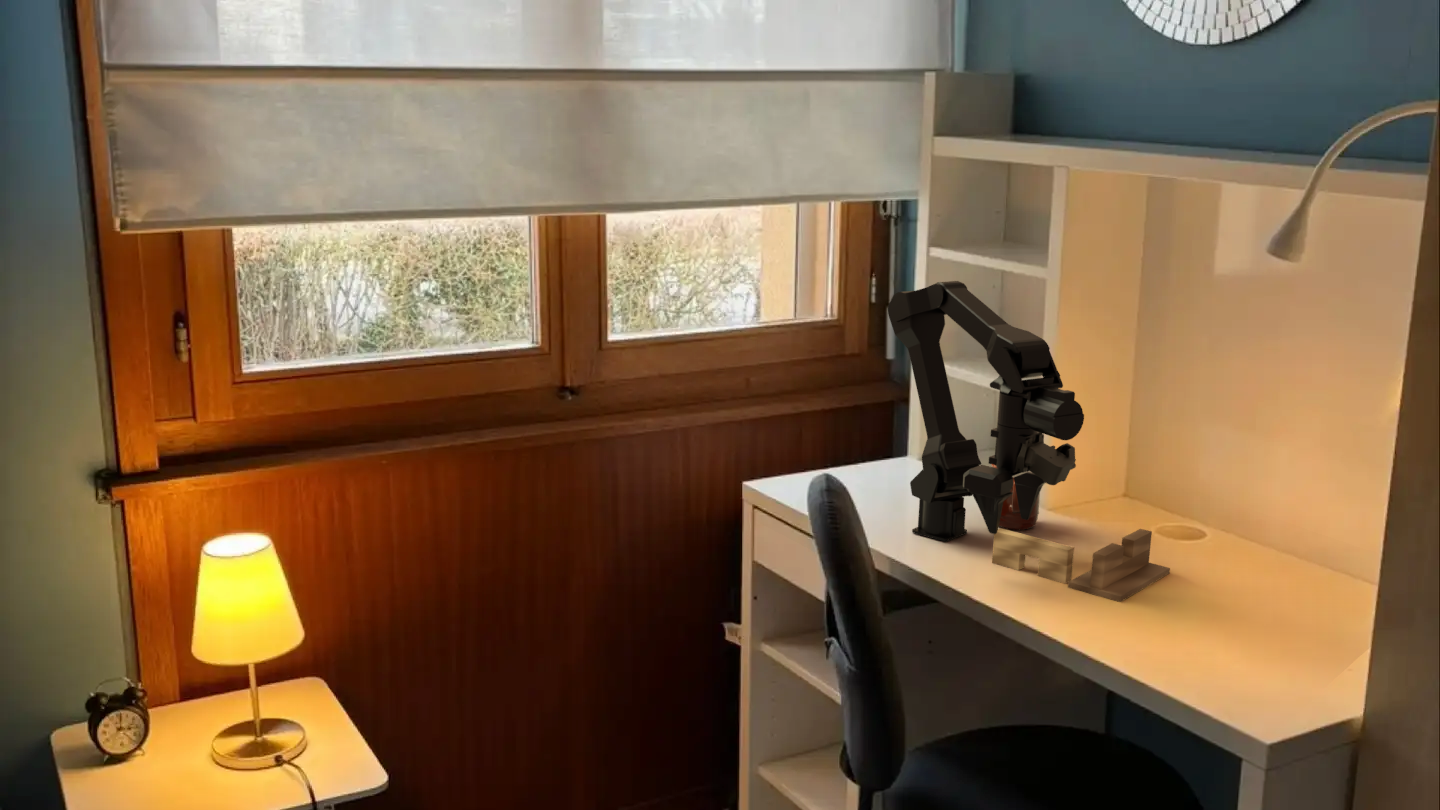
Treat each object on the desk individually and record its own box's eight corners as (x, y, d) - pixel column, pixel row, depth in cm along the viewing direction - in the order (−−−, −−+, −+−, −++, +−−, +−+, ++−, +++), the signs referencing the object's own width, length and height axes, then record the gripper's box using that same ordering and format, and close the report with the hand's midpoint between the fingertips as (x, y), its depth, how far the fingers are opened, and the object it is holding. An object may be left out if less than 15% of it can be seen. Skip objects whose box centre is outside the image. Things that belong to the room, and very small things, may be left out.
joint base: (1067, 587, 197) (1071, 548, 195) (1118, 559, 208) (1122, 523, 207) (1120, 601, 192) (1124, 562, 190) (1169, 573, 203) (1173, 535, 202)
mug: (987, 514, 229) (991, 454, 226) (1041, 518, 227) (1046, 458, 225) (985, 537, 217) (990, 474, 215) (1042, 542, 215) (1047, 479, 213)
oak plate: (992, 562, 206) (994, 530, 205) (998, 559, 207) (1000, 528, 206) (1065, 583, 198) (1068, 550, 197) (1071, 580, 199) (1074, 547, 198)
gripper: (1034, 446, 188) (1026, 554, 192) (1098, 422, 202) (1089, 524, 206) (964, 431, 195) (957, 535, 199) (1030, 409, 209) (1022, 507, 213)
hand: (1009, 526), depth 204 cm, fingers open, 9 cm apart
